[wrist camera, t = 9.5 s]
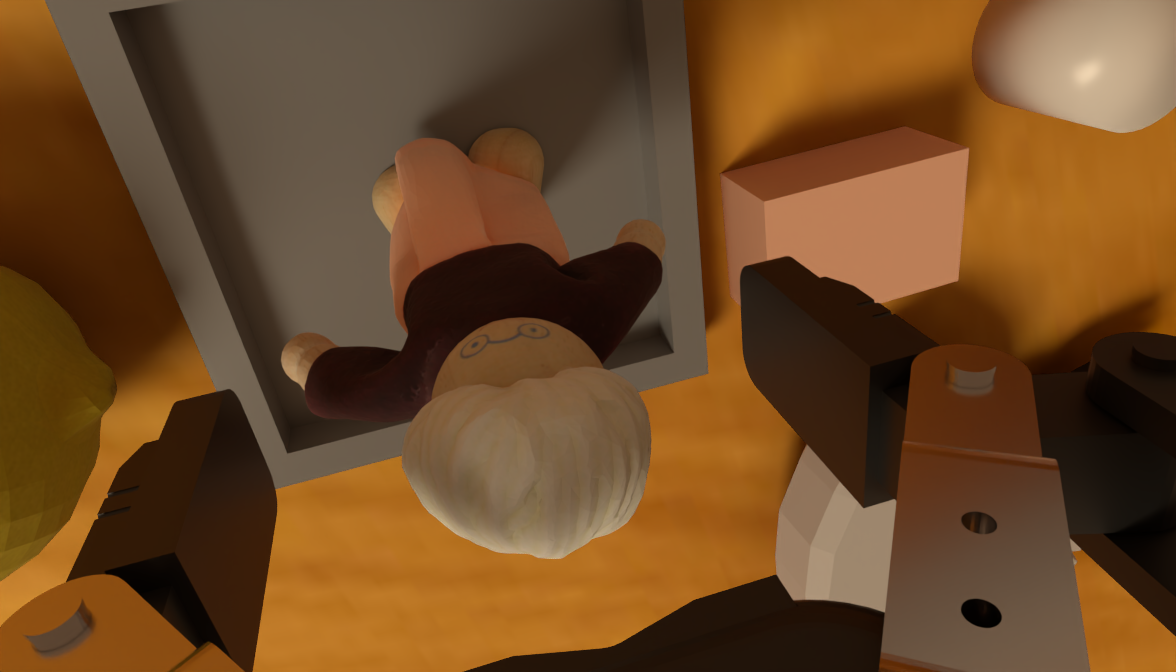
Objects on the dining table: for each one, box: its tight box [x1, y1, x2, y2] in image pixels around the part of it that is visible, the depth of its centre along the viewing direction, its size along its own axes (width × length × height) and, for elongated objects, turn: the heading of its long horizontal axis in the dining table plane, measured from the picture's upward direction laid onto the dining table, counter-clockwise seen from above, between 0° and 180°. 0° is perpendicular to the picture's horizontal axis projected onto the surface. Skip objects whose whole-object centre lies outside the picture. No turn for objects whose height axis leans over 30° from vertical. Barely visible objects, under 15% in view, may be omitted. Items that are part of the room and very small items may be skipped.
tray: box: [45, 0, 708, 489], centre depth 20 cm, size 13×13×2 cm
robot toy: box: [775, 362, 1090, 612], centre depth 28 cm, size 12×4×15 cm
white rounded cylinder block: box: [972, 0, 1176, 133], centre depth 21 cm, size 4×4×4 cm
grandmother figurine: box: [281, 128, 666, 559], centre depth 14 cm, size 8×4×13 cm, turn 115°
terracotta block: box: [720, 126, 969, 306], centre depth 23 cm, size 6×4×3 cm, turn 100°
